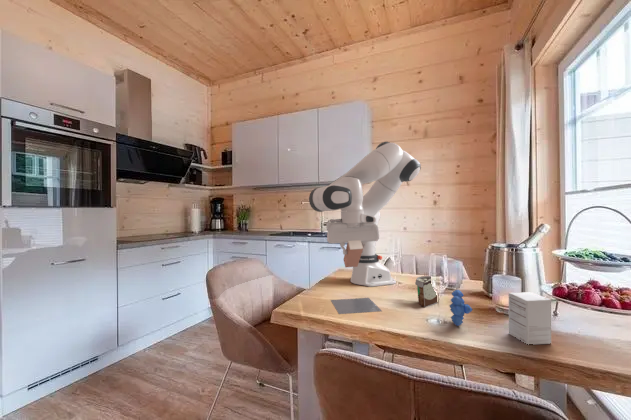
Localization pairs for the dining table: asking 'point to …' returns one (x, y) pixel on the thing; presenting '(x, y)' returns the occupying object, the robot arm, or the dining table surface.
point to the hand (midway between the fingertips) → (353, 253)
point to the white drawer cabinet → (530, 318)
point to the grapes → (458, 307)
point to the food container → (425, 291)
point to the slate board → (355, 305)
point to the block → (353, 253)
